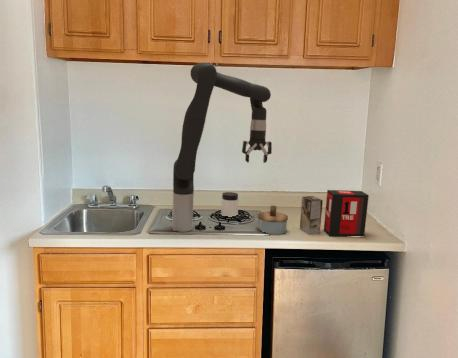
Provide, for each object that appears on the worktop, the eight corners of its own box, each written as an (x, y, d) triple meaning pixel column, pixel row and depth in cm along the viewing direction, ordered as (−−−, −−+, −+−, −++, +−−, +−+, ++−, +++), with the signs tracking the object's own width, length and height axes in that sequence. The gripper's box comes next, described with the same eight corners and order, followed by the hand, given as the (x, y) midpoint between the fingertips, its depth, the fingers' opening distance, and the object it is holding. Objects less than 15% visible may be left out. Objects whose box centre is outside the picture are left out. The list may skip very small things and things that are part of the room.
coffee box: (320, 233, 201) (323, 200, 197) (308, 234, 198) (311, 200, 195) (310, 227, 209) (313, 195, 206) (298, 228, 207) (301, 196, 204)
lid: (262, 222, 193) (263, 210, 192) (254, 214, 206) (255, 202, 205) (291, 222, 195) (292, 210, 194) (282, 213, 209) (283, 202, 208)
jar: (219, 214, 225) (220, 192, 222) (233, 213, 227) (235, 191, 225) (224, 219, 216) (225, 196, 214) (239, 218, 219) (240, 195, 217)
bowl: (263, 234, 195) (264, 221, 194) (256, 226, 207) (257, 214, 205) (288, 234, 197) (289, 221, 196) (280, 226, 209) (281, 214, 208)
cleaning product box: (357, 231, 207) (361, 191, 203) (364, 237, 198) (368, 195, 194) (323, 230, 206) (327, 189, 202) (329, 236, 197) (333, 194, 193)
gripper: (245, 129, 200) (243, 163, 203) (274, 130, 203) (272, 164, 206) (241, 128, 207) (240, 161, 211) (270, 129, 210) (268, 161, 213)
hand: (256, 162), depth 208 cm, fingers open, 8 cm apart
